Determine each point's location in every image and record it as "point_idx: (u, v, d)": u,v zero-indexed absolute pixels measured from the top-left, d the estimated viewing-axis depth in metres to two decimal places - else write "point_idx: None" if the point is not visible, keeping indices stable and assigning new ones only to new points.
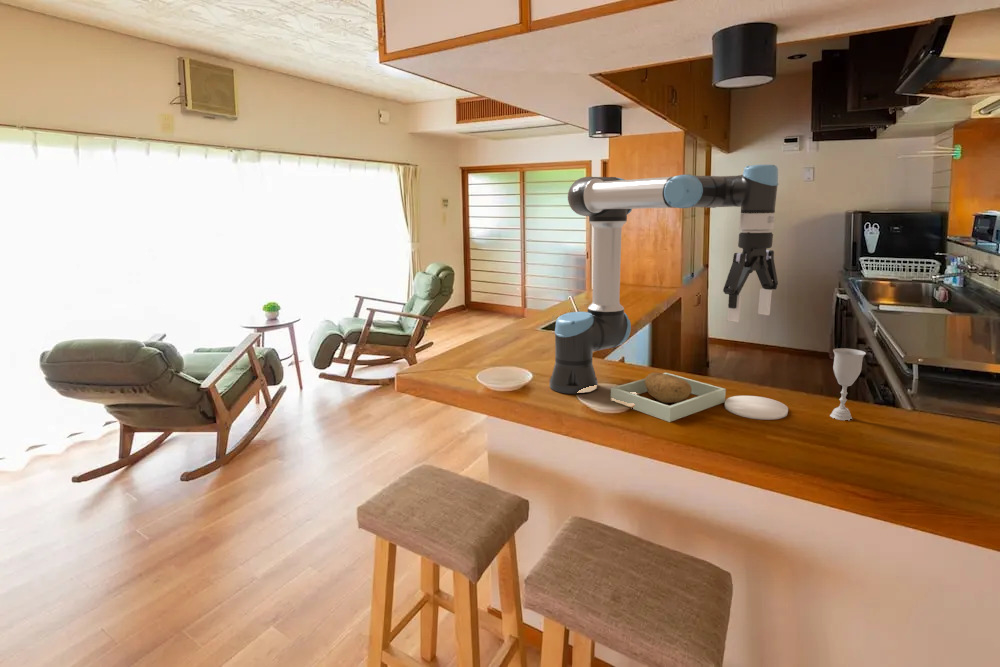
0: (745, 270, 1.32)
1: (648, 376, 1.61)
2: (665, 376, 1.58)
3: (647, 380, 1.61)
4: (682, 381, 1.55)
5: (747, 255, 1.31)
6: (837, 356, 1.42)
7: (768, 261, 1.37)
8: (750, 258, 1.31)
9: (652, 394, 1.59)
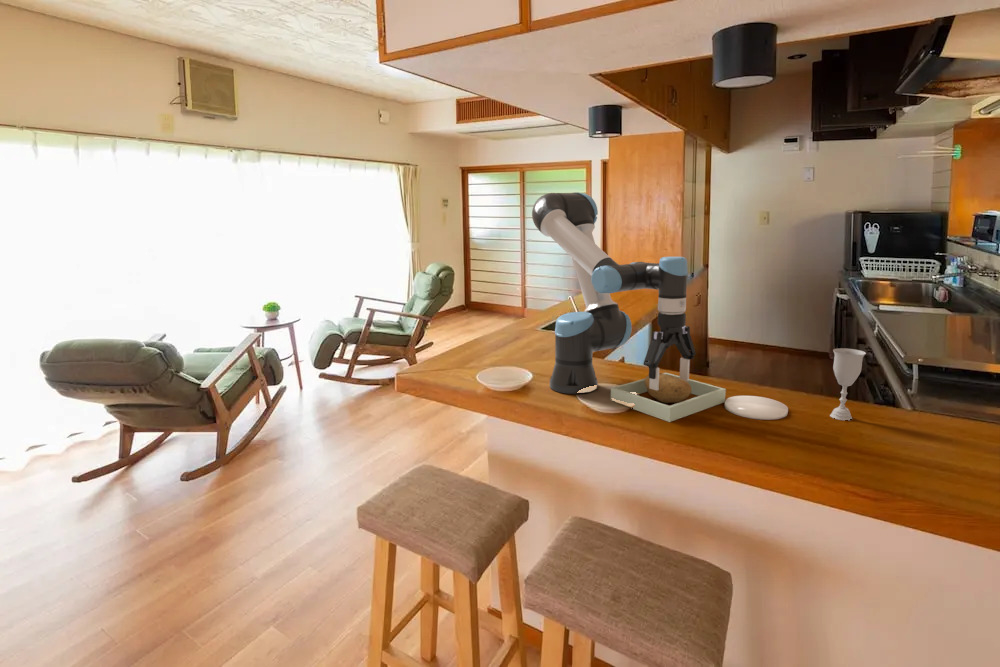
0: (662, 346, 1.53)
1: (648, 376, 1.61)
2: (665, 376, 1.58)
3: (647, 380, 1.61)
4: (682, 381, 1.55)
5: (663, 333, 1.53)
6: (837, 356, 1.42)
7: (685, 335, 1.59)
8: (666, 335, 1.53)
9: (652, 394, 1.59)
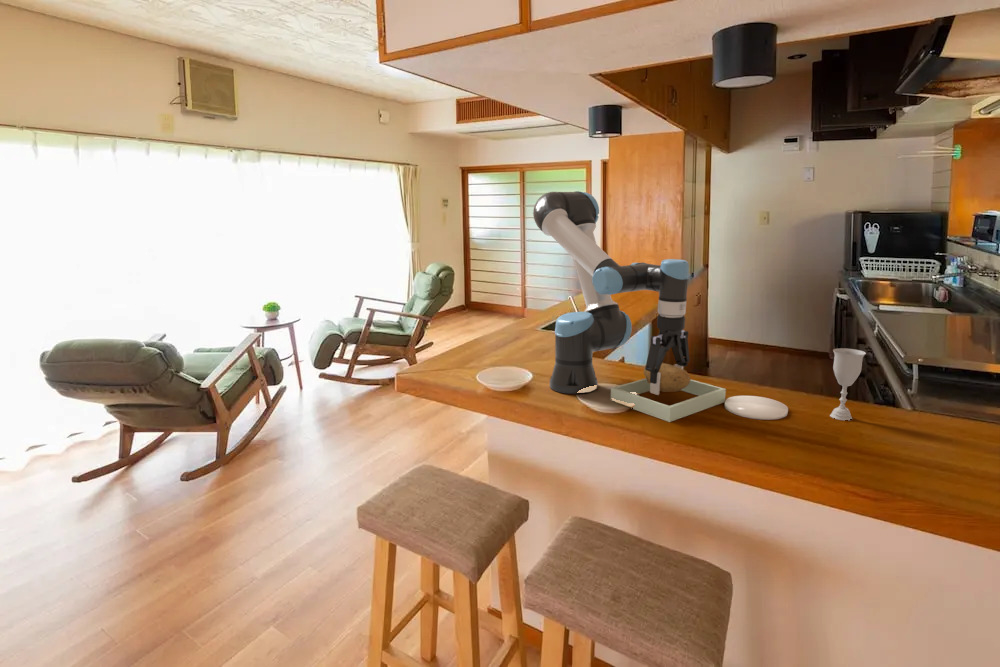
0: (662, 350, 1.54)
1: None
2: (664, 365, 1.58)
3: None
4: (681, 370, 1.55)
5: (662, 337, 1.53)
6: (837, 356, 1.42)
7: (683, 340, 1.59)
8: (665, 338, 1.54)
9: None
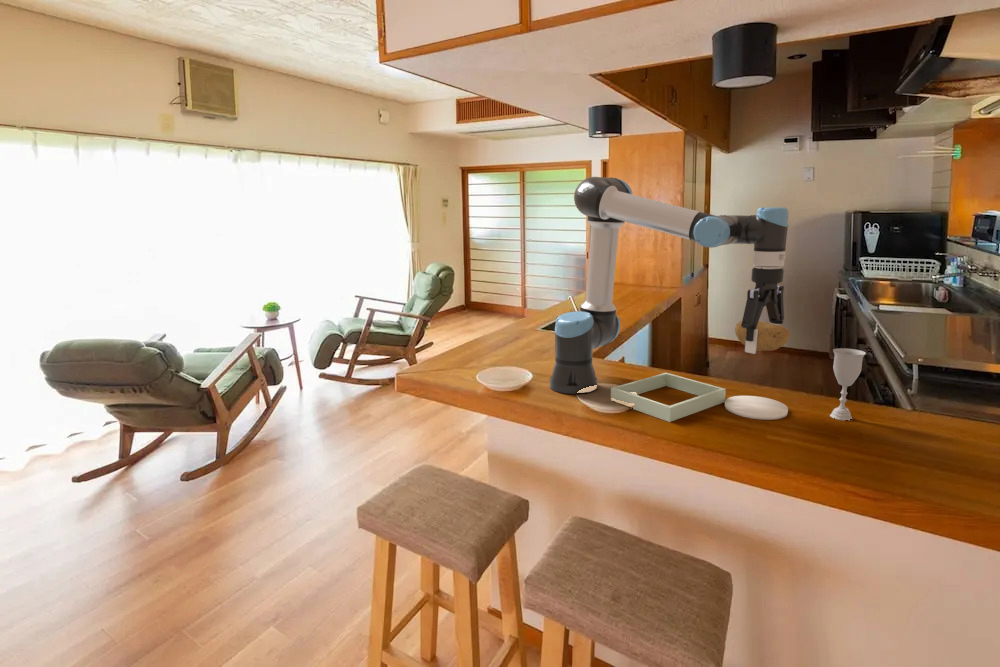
0: (759, 305, 1.44)
1: (740, 323, 1.50)
2: (760, 322, 1.47)
3: (739, 327, 1.50)
4: (780, 326, 1.44)
5: (760, 290, 1.43)
6: (837, 356, 1.42)
7: (778, 295, 1.49)
8: (763, 292, 1.43)
9: (745, 342, 1.48)
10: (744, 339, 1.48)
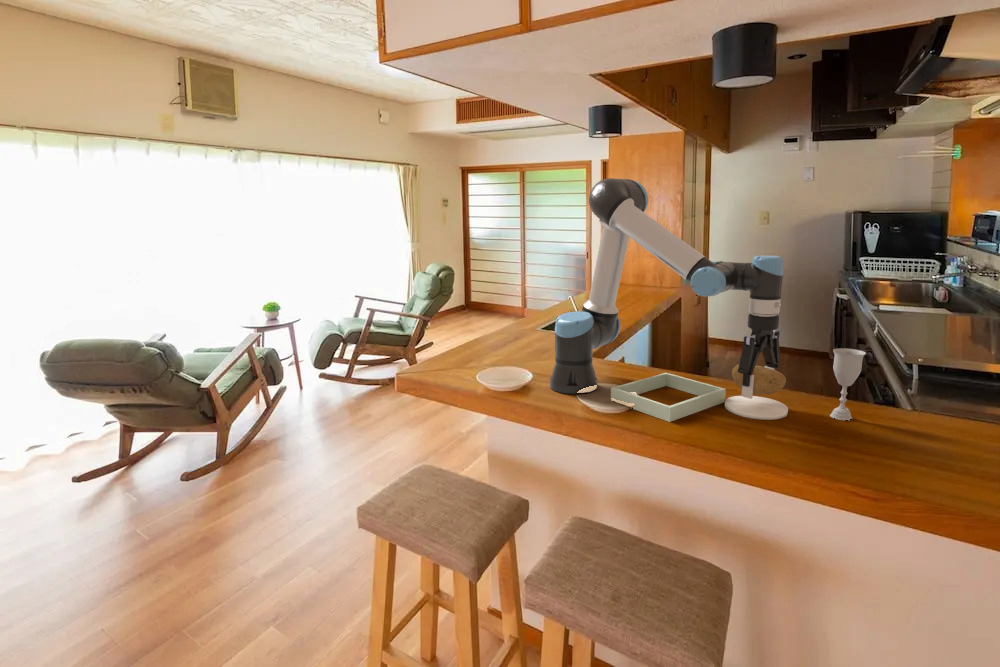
0: (755, 351, 1.47)
1: (736, 367, 1.53)
2: (756, 367, 1.50)
3: (736, 371, 1.52)
4: (776, 372, 1.47)
5: (756, 337, 1.45)
6: (837, 356, 1.42)
7: (773, 340, 1.52)
8: (759, 339, 1.46)
9: None
10: (741, 383, 1.51)
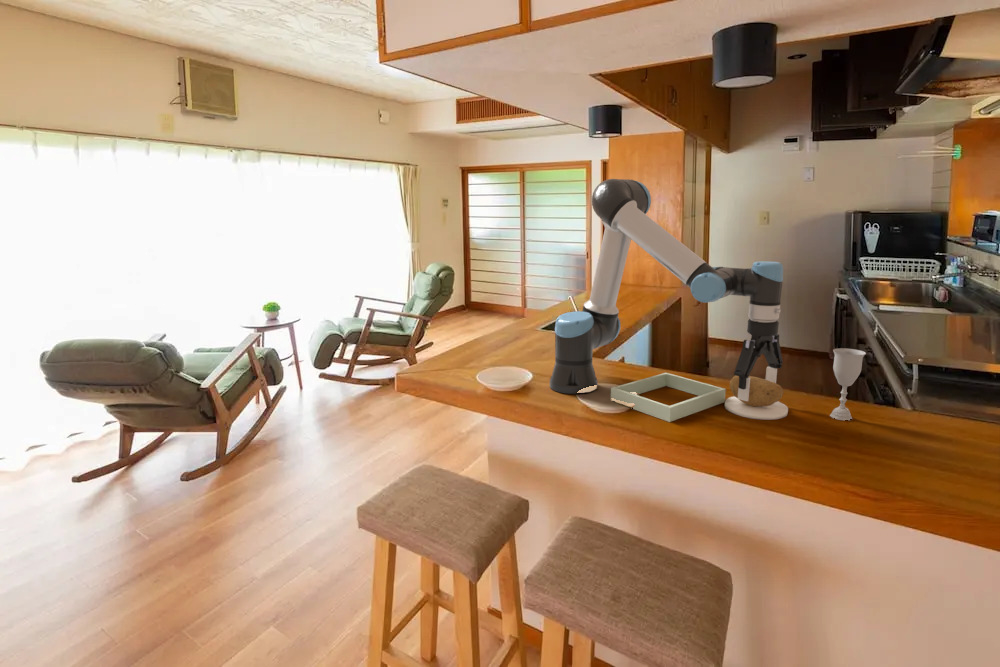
0: (753, 355, 1.47)
1: (734, 378, 1.54)
2: (754, 378, 1.50)
3: (733, 382, 1.53)
4: (773, 383, 1.48)
5: (755, 342, 1.46)
6: (837, 356, 1.42)
7: (774, 343, 1.52)
8: (758, 344, 1.46)
9: None
10: None
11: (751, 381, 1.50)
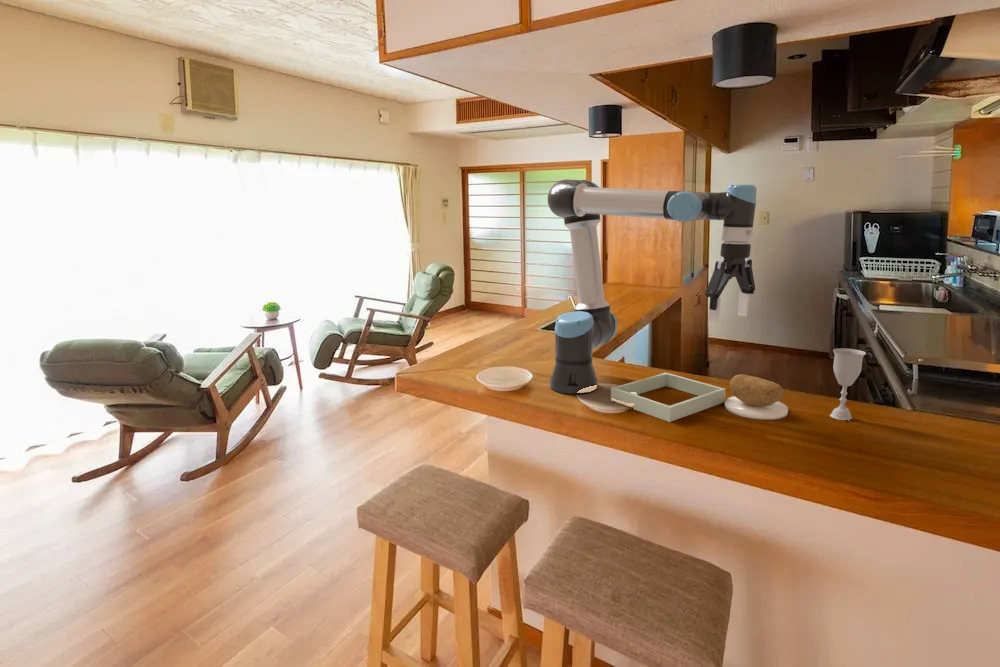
0: (725, 276, 1.50)
1: (734, 378, 1.54)
2: (754, 378, 1.50)
3: (733, 382, 1.53)
4: (773, 383, 1.48)
5: (727, 263, 1.49)
6: (837, 356, 1.42)
7: (747, 269, 1.55)
8: (730, 266, 1.49)
9: (740, 397, 1.52)
10: (738, 395, 1.51)
11: (751, 381, 1.50)
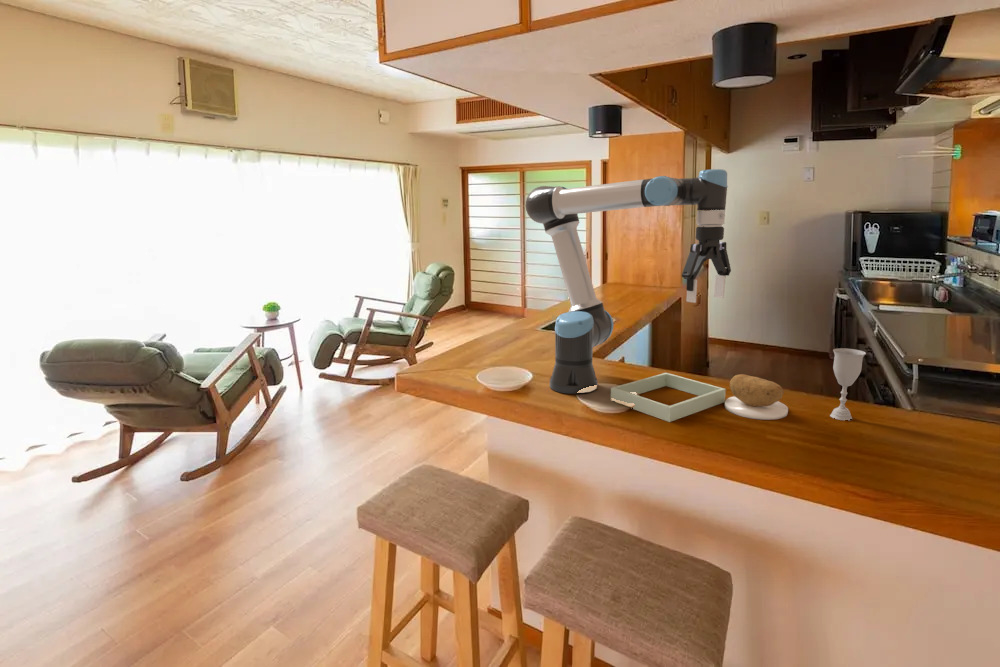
0: (700, 258, 1.56)
1: (734, 378, 1.54)
2: (754, 378, 1.50)
3: (733, 382, 1.53)
4: (773, 383, 1.47)
5: (702, 246, 1.55)
6: (837, 356, 1.42)
7: (722, 251, 1.61)
8: (705, 248, 1.55)
9: (740, 397, 1.52)
10: (738, 395, 1.51)
11: (751, 381, 1.50)
